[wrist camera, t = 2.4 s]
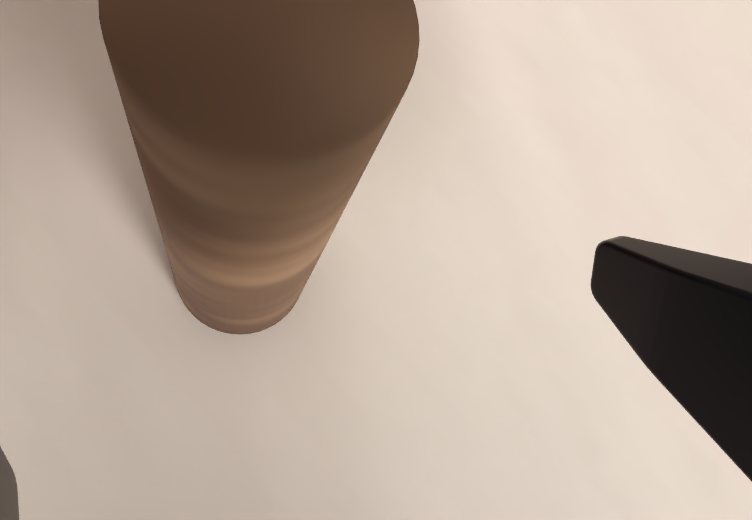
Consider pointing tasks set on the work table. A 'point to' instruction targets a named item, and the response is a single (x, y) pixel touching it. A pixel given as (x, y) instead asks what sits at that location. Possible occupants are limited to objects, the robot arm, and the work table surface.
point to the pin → (255, 133)
